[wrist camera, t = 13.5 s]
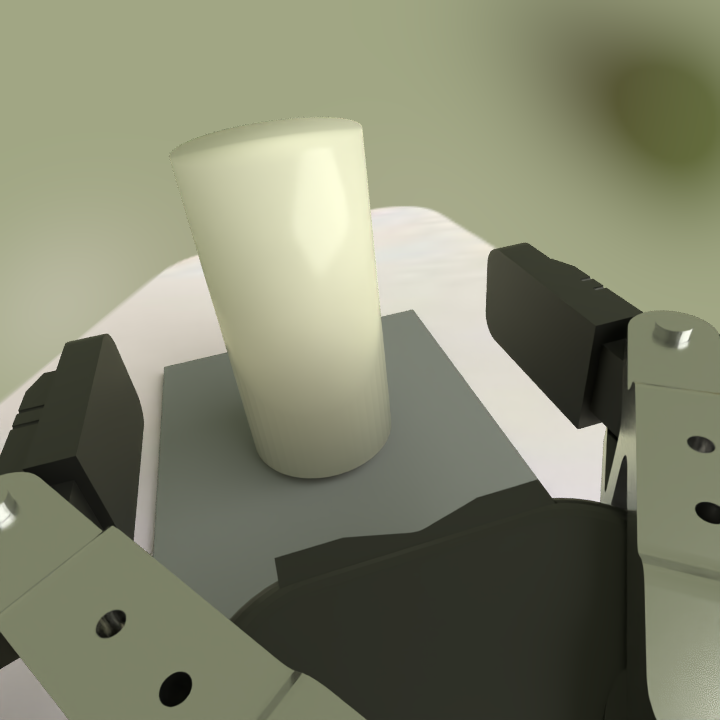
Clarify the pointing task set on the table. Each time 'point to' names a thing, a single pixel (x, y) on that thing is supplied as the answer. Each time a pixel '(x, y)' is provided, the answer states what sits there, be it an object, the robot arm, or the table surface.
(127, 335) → the table surface
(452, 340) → the table surface
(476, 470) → the grey mat
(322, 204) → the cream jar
